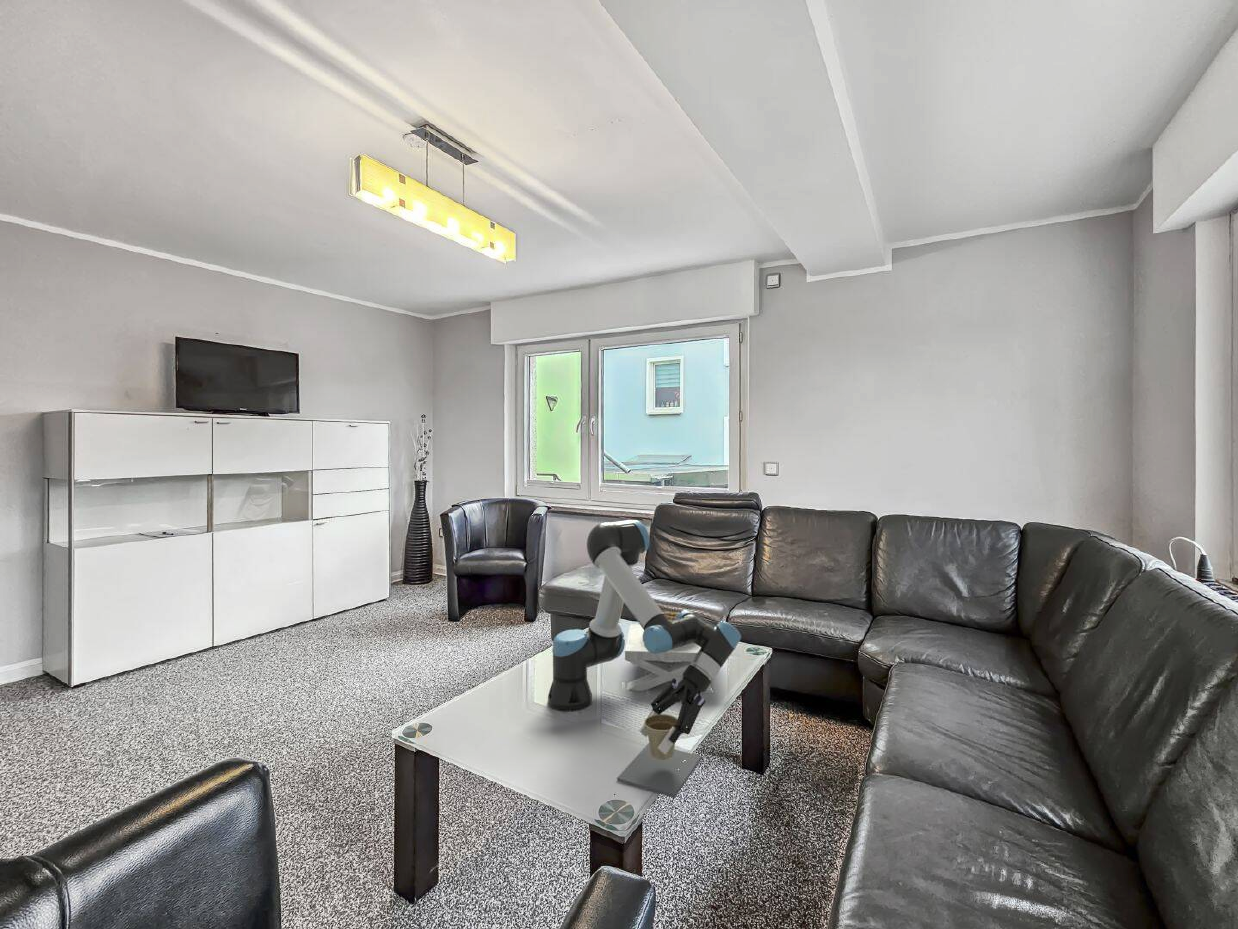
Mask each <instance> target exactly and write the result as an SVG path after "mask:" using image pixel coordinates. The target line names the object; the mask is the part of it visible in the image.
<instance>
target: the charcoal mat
mask: <svg viewBox="0 0 1238 929" xmlns="http://www.w3.org/2000/svg"><path fill="white" fill-rule="evenodd" d="M684 760H686V761H684ZM701 760H702V755H699V754H696V753H695V754H694V753H690V752H688V751H683V750H679V749H675V748H674V755H673V757H670V758H669V759H666V760H659V759H656V758H655V757H652V756H651V752H650V745H649V742H648V743H647V744H646V745H645V746H644V747H643V749H642V750H641V751H639V753H638V754H637V755H636V757H634V758H633V760H632V761H631V762H630V763H629V764H628V765H627V766H626V767H625V769H624V770H622V772H621V773H620V774H619V775H618V776H617V778H616V781H617V782H620V783H623V784H626V785H629V786H633V787H637V788H639V789H643V790H646V791H650V792H653V793H656V794H659V795H662V796H666V797H670V798H672V799H676V797H677V796H678V794H680V791H681V790H682V788H683V787H684V786H685V784H686V783H687V781H688V780H689V778H690V777H691V775H692V773H693V772H694V771H695V769H696V767H697V766H698V765H699V763H700V762H701ZM683 761H684V762H683ZM678 769H679V770H678Z"/></svg>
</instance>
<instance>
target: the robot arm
mask: <svg viewBox="0 0 1238 929" xmlns="http://www.w3.org/2000/svg"><path fill="white" fill-rule="evenodd" d="M650 538H651V537H650V534H649V532H648V529H647V527H646V525H645V524H644V523H642V522H641V521H640V520H636V519H625V520H618V521H609V522H608V521H607V522H606V521H605V522H601V523H599V524H596V525H595V526H594V527H593V528H592V529H591V531H590V532H589V533H588V535H587V538H586V539H587V540H586V551H587V554H588V557H589V559H590V561H591V563H592V564H593V566H594V567H595V568H596V570H601V571H602V572H603V574H604V578H603V583H602V586H601V591H600V595H599V600H598V604H597V607H596V608H597V609H596V613H595V618H593V619H592V620H590V622H589V624H588V625H589V626H588V628H587V631H585V630H583V629H578V628H574V629H566V630H564V631H561V632H559V633H558V634H557V635H556V636H554V638H553V641H552V650H551V652H552V683H551V685H550V687H549V688H550V689H549V691H548V694H547V704H548V706H549V707H550V708H552V709H554V710H556V711H559V712H560V711H561V712H577V711H580V710H583V709H586V708H588V707H590V706H591V704H592V703H593V692H592V691H591V690H592V689H591V688H590V684H589V681H588V668H591V667H593V666H597V665H600V664H604V663H608V662H611V661H614V660H615V659H617V658H619V657H620V656H621V655H622V653H623V652H624V651H625V647H626V644H625V643H626V640H625V634H624V632H623V630H622V627H621V626H620V620H621V616H622V612H623V607H624V604H625V605H626V607H627V608H628V610H629V612H630V613H631V615H632V616H633V617H634V619H636V621H637V623H638V625H641V627H642V628H643V629H644V632H643V641H644V646H645V648H646V649H647V650H648V651H649V652H651V653H653V654H658V653H663V652H667V651H669V650H671V649H674V648H677V647H681V646H684V645H687V644H690V643H695V644H697V645H698V646H700V647H701V649H700V650H699V651H698V653H697V654H696V655H695V657H694V658H693V660H692V661H691V664H692V665H689V666H688V667H687V668H686V670H685V671H684V673H683V679H682V680H681V681H680V682H678V681H677V680H676V679H675V678H673V679H672V680H671V681H670V682H669V684H668V685H667V686H666V687H665V688H664V689H663V690H662V691H661V692H660V693H659V694H658V695H657V696H656V697H655V698H654V699H653V700H652V701H651V702H650V706H651V707H652V710H651V712H650V713H649V714H648V716H647V717H646V718H648V717H649V716H652V715H658V714H663V713H664V712H666V711H667V710H668V709H670V708H671V707H672V706H674V705H675V704H676V703H680V704H681V705H680V706H681V707H680V709H679V712H678V716H677V719H678V720H677V723H676V725H674V727H675V728H676V729H675V728H674V727H673V726H672V728H671V729H670V731H669V732H668V734H667V735H666V736H665V738H664V739H663V741H662V742H661V744H660V745H659V747H658V749H659V750H660V751H662V752H663V753H664V754H665V755H666V753H667V752H668V750H669V749H670V748H671V746H672V745H673V744H674V743H675V744H676V742H677V741H678V740H679V738H680V737H681V736H682V735H683V734H686V735H687V736H688V735H690V733H691V732H692V728H693V727H694V725H695V722H696V720H697V719H698V716H699V714H700V711H701V709H702V708H703V706H704V705H705V704H706V699H704V697H703V696H702V695H701V692H705V691H706V690H707V688H708V687H709V685H711V683H712V682H711V680H714V679H715V678H716V676H717V675H718V673H719V672H720V670H721V669H722V667H723V665H724V664H725V663H726V662H727V660H728V659H729V657H731V655H732V653H733V651H735V650H736V648H737V645H738V644H739V643H740V641H741V638H742V635H741V633H740V631H739V630H738V628H736V627H735V626H733V625H732V624H731V623H729V622H727V621H725V620H720V621H719V622H718V623H717V624H714V623H712V622H711V621H709V620H707V618H704V617H703V616H701V615H700V614H698V613H696V612H693V611H691V610H689V609H683V610H681V611H680V612H679V613H678V614H677V616H676V618H675V620H672V621H669V620H668V618H667V617H666V616H665V615H664V613H663V612H664V611H662V609H661V608H660V607H659V605H658V603H656V601H655V599H653V597H652V595H651V594H650V593H649V592H648V591H647V589H646V587H645V586H644V585H643V584H642V582H641V581H640V579H639V578H638V576H637V575H636V574H635V572H634V571H633V567H634V566H636V565H637V564H638V563H639V559H640V554H644V553H645V552H647V551H648V549H649V548H650ZM638 732H639V733H640V734H642V735H643V737H645V738H648V732H647V730H646V726H645V725H644V723H643V724H642V726H640V729H639V730H638Z"/></svg>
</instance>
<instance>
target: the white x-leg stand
mask: <svg viewBox="0 0 1238 929" xmlns="http://www.w3.org/2000/svg"><path fill="white" fill-rule="evenodd" d="M662 612H663V613H664V615H665V616H666V617H667V618H668V620H669V621H672V620H675V618H676V616H677V614H678V613H680V612H678V611H662ZM643 632H644V629H643V628H642V627H641V625H640V624H632V623H631V624H629V628H628V634H627V638H626V642H625V643H626V644H625V647H624V660H625V661H627V662H628V663H630V664H631V663H633V664H632V665H636V666H638V667H640V668H642V669H644V670H646V671H648V672H650V673H649V674H647V675H644V676H641V677H639V678H637V679H634V680H632V681H629V682H627V684H626V691H634V692H635V691H640V692H645V691H647V690H649V689H652V688H654V687H657V686H659V685H662V684H664V683H667V682H669V681H670V682H671V680H672V679H673V678H675V679H676V680H677V681H678V682H680V681H681V680H682V679H683V673H684V671H685V670H686V668H687V667H688V666H689V665H692V664H691V661H692V660H693V658H694V657H695V655H696V654H697V653H698V651H699V650H700V649H701V647H700V646H698V645H697V644H695V643H690V644H687V645H684V646H681V647H677V648H674V649H671V650H669V651H667V652H663V653H658V654H653V653H651V652H649V651H648V650H647V649H646V648H645V646H644V641H643ZM663 662H676V663H673V664H671V665H668V664H666V663H663ZM713 692H714V691H713ZM713 692H712V690H711V684H710V685H709V687H708V688H707V690H706V691H705V692H701V693H702V694H706V693H707V694H708V693H709V694H714V693H713Z"/></svg>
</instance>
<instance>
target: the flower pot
mask: <svg viewBox="0 0 1238 929" xmlns="http://www.w3.org/2000/svg"><path fill="white" fill-rule="evenodd" d="M648 716H649V715H648ZM648 716H647V717H648ZM647 717H646V718H645V719H644V721H643V724H644V725H645V726H646V730H647V732H648V736H647V738H648V743H649V745H650V752H651V756H652V757H655V758H656V759H659V760H666V759H669V758H670V757H673V755H674V749H675V745H676V742H675V743H674V744H673V745H672V746H671V748H670V749H669V750H668V752H667V753H666V755H665V754H664V753H663V752H662V751H660V750H659V749H658V747H659V745H660V744H661V742H662V741H663V739H664V738H665V736H666V735H667V734H668V732H669V731H670V729H671V728H672V726H673V727H674V725H676V723H677V720H678V717H677V718H676V717H675V716H673V715H669V714H663V713H661V714H658V715H652V716H649V717H648V718H647ZM674 728H675V727H674ZM675 729H676V728H675Z"/></svg>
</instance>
